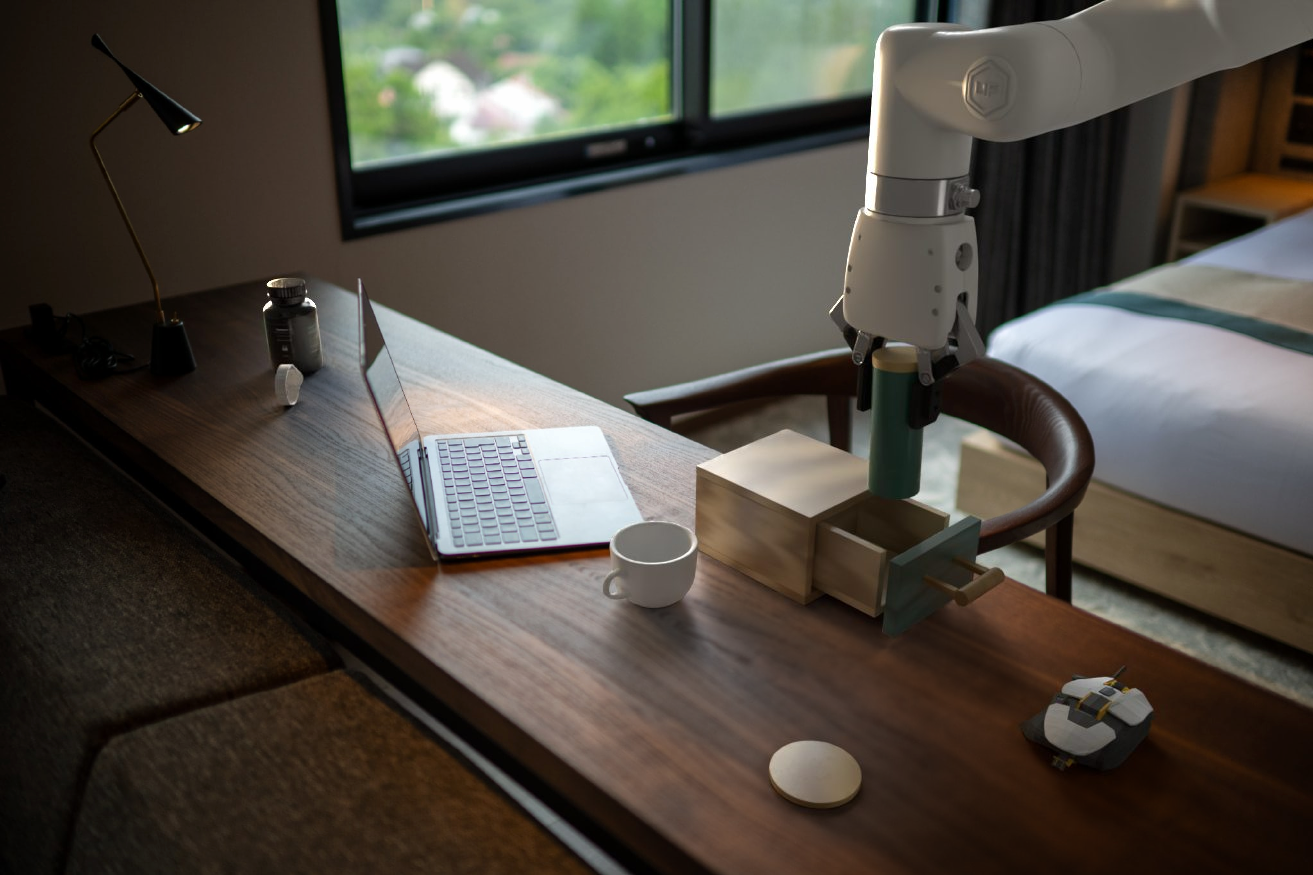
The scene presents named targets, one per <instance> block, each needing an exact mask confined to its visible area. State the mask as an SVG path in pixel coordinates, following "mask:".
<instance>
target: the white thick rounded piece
mask: <svg viewBox="0 0 1313 875" xmlns="http://www.w3.org/2000/svg"><path fill="white" fill-rule="evenodd" d="M303 381H304V375H302V374H301V372H300V371H298V370H297V368H295V367H294V365H280V366H279V367H278V370H277V373H275V377H274V390H275V391H274V394H275V396H276V400H277V403H278V405H281V406H294V405H295V404H296V403H297V401H298V398H299V390H300V389H301V385H302V384H303Z"/></svg>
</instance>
